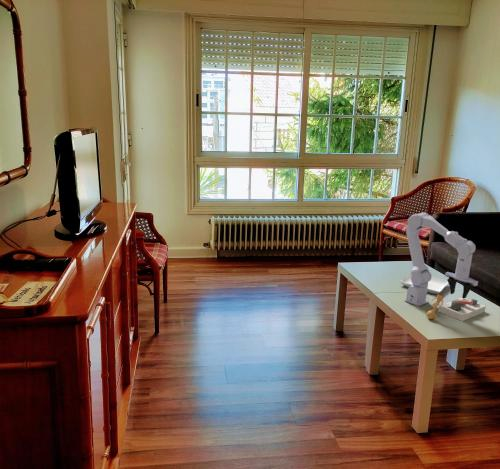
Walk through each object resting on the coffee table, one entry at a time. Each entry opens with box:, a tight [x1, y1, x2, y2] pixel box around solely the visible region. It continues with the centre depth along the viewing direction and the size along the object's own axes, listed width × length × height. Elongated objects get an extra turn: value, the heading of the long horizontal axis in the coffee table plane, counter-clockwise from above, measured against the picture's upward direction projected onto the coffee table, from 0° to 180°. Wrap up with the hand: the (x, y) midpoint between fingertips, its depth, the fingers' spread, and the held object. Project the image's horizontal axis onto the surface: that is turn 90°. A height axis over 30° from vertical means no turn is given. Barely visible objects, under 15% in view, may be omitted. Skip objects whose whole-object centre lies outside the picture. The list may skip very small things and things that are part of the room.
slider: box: [470, 298, 478, 305], centre depth 215 cm, size 2×2×2 cm
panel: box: [437, 297, 487, 322], centre depth 214 cm, size 20×12×4 cm, turn 126°
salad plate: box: [399, 272, 449, 295], centre depth 246 cm, size 21×21×3 cm
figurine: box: [426, 293, 444, 320], centre depth 203 cm, size 8×6×12 cm
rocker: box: [454, 298, 473, 305], centre depth 213 cm, size 3×8×1 cm, turn 37°
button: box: [451, 300, 462, 311], centre depth 210 cm, size 4×4×3 cm
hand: (458, 295), depth 209 cm, fingers open, 5 cm apart
